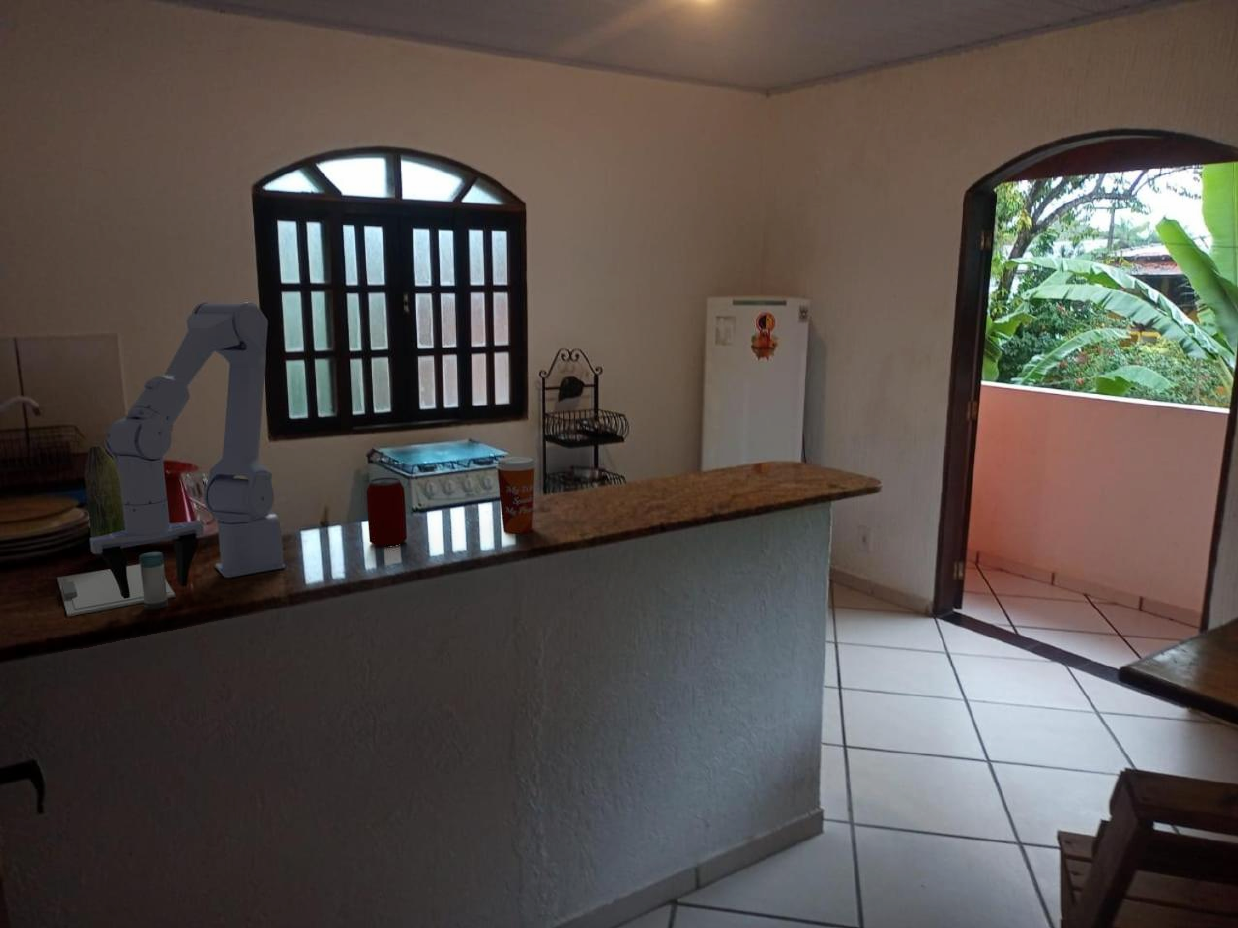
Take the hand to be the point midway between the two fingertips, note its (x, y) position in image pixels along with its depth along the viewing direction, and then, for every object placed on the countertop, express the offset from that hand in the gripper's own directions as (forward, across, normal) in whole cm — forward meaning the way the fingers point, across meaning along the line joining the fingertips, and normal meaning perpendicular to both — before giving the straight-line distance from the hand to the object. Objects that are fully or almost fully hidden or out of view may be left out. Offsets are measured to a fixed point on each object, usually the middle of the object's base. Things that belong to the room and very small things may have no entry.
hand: (154, 590), depth 126 cm
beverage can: (+3, -41, -7) cm, 42 cm away
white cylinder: (+2, 0, 0) cm, 3 cm away
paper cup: (+2, -64, +2) cm, 64 cm away
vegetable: (+3, -2, -32) cm, 32 cm away
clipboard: (+2, +2, -13) cm, 14 cm away
